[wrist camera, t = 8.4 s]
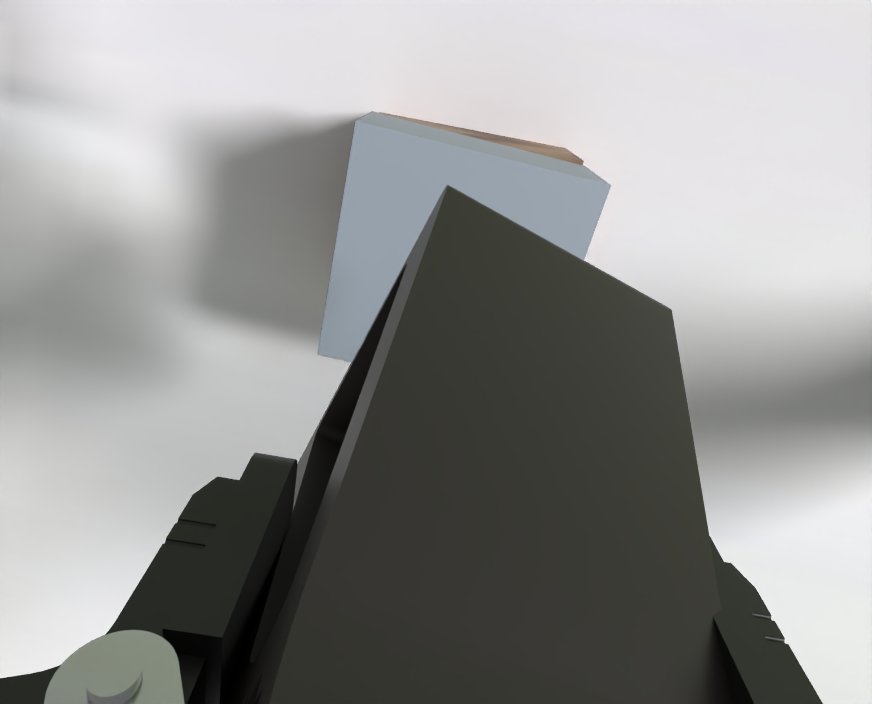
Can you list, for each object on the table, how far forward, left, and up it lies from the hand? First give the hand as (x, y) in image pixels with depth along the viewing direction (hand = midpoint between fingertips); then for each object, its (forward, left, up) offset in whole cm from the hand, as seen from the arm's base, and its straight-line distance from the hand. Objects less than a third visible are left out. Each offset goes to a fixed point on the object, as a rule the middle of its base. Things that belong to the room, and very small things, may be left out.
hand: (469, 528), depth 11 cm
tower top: (0, 0, -20) cm, 20 cm away
